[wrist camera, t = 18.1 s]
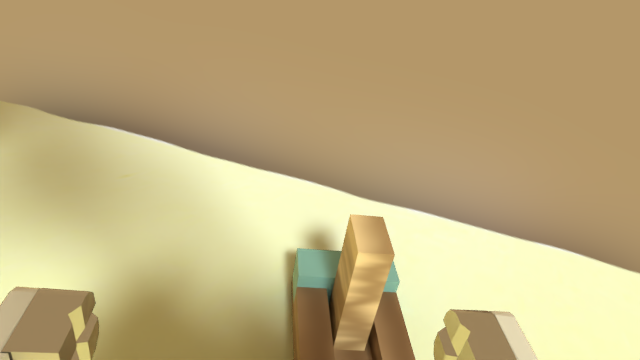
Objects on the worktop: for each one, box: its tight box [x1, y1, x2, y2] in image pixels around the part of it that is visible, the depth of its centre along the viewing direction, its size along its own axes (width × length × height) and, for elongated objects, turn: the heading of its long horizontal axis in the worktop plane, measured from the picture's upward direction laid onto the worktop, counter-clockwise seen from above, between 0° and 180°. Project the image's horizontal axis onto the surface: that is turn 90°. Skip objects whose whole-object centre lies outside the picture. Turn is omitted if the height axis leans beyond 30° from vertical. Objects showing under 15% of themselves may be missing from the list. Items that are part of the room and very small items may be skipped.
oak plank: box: [329, 214, 395, 351], centre depth 42 cm, size 3×5×12 cm, turn 4°
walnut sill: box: [292, 248, 415, 360], centre depth 41 cm, size 10×20×5 cm, turn 4°
